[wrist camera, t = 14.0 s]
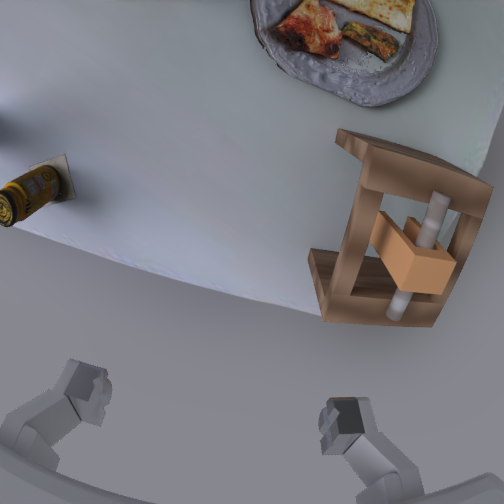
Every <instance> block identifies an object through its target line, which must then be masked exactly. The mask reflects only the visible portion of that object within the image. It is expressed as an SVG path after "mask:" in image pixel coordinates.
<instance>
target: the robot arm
mask: <svg viewBox="0 0 504 504" xmlns="http://www.w3.org/2000/svg"><path fill="white" fill-rule="evenodd" d="M107 376H108V372H107V369H105V368H101V367H98V366H94V365H91V364H87V363H83V362H81V361H77V360H74V359H69V360H68V361H67V362H66V364H65V366H64V368H63V370H62V372H61V374H60V375H59V377H58V379H57V381H56V383H55V385H54V387H53V389H52V390H50V389H48V390H47V391H45V392H43V393H42V394H40V395H38V396H37V397H35V398H33V399H32V400H30V401H28V402H27V403H25V404H23V405H22V406H20V407H18V408H17V409H15V410H13V411H12V412H10V413H8V414H7V415H6V418H5V419H4V421H3V424H2V425H1V428H0V504H155V503H150V502H146V501H142V500H138V499H134V498H130V497H126V496H123V495H119V494H116V493H112V492H109V491H106V490H103V489H100V488H97V487H94V486H91V485H88V484H86V483H83V482H80V481H78V480H75V479H72V478H69V477H67V476H65V475H62V474H60V473H58V472H56V469H57V466H58V463H59V460H60V458H59V456H58V455H57V454H56V453H55V452H54V450H53V449H52V448H51V447H52V446H53V445H54V444H55V443H57V442H58V441H59V440H60V439H62V438H63V437H64V436H65V435H66V434H68V433H69V432H70V431H71V430H72V429H74V428H75V427H76V426H77V425H78V424H80V423H81V421H84V422H86V423H90V424H93V425H97V426H101V424H102V422H103V419H104V416H105V410H104V407H105V406H106V405H108V404H109V402H110V399H111V395H112V384H111V381H110V380H108V378H107ZM326 405H327V407H325V408H323V409H322V411H321V413H320V416H319V431H320V432H321V433H322V434H323V435H324V436H323V437H322V439H321V440H320V442H321V450H322V455H341V454H343V457H344V458H345V459H346V461H347V462H348V463H349V464H350V466H351V467H352V468H353V470H354V471H355V472H356V474H357V475H358V476H359V478H360V479H361V480H362V481H363V483H364V484H365V485H366V486H367V488H366V489H365V490H364V491H362V492H360V493H359V494H358V495H357V496H356V502H357V504H504V481H502V480H501V479H500V478H499V477H497V476H496V475H494V474H493V473H490V472H489V473H488V472H487V473H484V474H482V475H479V476H477V477H474V478H472V479H469V480H467V481H464V482H462V483H459V484H456V485H454V486H451V487H448V488H445V489H442V490H439V491H435V492H432V493H429V494H426V495H425V494H424V489H423V485H422V481H421V477H420V473H419V469H418V467H417V466H416V465H415V464H414V463H413V462H412V461H411V460H410V459H409V458H408V457H407V456H406V455H405V454H403V452H401V451H400V450H399V449H398V448H397V447H396V446H395V445H394V444H393V443H392V442H391V441H390V440H389V439H388V438H387V437H386V436H385V435H384V434H383V433H382V432H378V429H377V426H376V422H375V418H374V414H373V411H372V407H371V404H370V400H369V398H368V397H343V398H342V397H337V398H329V399H328V400H327V402H326Z"/></svg>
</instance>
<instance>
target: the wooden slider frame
mask: <svg viewBox="0 0 504 504" xmlns="http://www.w3.org/2000/svg"><path fill="white" fill-rule="evenodd" d="M335 143H336V144H338V145H339V146H341V147H342V148H344V149H345V150H346V151H348V152H349V153H351V154H352V155H353V156H355V157H356V158H358V159H359V160H360V161H362V162H363V168H362V172H361V176H360V180H359V184H358V188H357V192H356V195H355V199H354V203H353V207H352V210H351V214H350V218H349V221H348V225H347V228H346V232H345V235H344V239H343V242H342V245H341V249H340V252H334V251H327V250H319V249H312V248H311V249H310V253H309V256H308V263H309V267H310V271H311V275H312V278H313V282H314V286H315V290H316V294H317V298H318V303H319V307H320V311H321V315H322V319H323V322H335V323H349V324H364V325H382V326H403V327H432V326H433V324H434V323H435V321H436V319H437V317H438V316H439V314H440V312H441V310H442V308H443V306H444V305H445V302H446V301H447V299H448V297H449V295H450V293H451V291H452V289H453V287H454V285H455V283H456V281H457V279H458V277H459V275H460V272H461V270H462V268H463V266H464V264H465V261H466V259H467V257H468V255H469V252H470V250H471V248H472V245H473V243H474V241H475V238H476V236H477V233H478V230H479V228H480V225H481V223H482V220H483V217H484V214H485V211H486V209H487V206H488V203H489V200H490V197H491V194H492V191H493V188H494V187H493V186H491V185H489V184H488V183H486V182H484V181H482V180H480V179H479V178H477V177H475V176H473V175H472V174H470V173H468V172H466V171H464V170H462V169H460V168H458V167H456V166H454V165H452V164H450V163H448V162H446V161H444V160H442V159H440V158H438V157H436V156H433V155H430V154H427V153H424V152H421V151H418V150H415V149H412V148H409V147H406V146H402V145H399V144H396V143H392V142H389V141H385V140H382V139H378V138H375V137H371V136H367V135H363V134H359V133H355V132H351V131H347V130H343V129H338V131H337V136H336V141H335ZM384 193H388V194H392V195H397V196H401V197H405V198H409V199H413V200H417V201H421V202H425V203H429V206H428V209H427V212H426V215H425V218H424V221H423V223H422V226H421V229H420V232H419V235H418V237H417V240H416V243H415V245H414V246H416V247H422V248H427V249H433V247H434V244H435V242H436V239H437V236H438V234H439V231H440V228H441V226H442V223H443V220H444V217H445V214H446V212H447V209H451V210H454V211H458V212H461V215H460V218H459V221H458V224H457V226H456V229H455V232H454V234H453V237H452V239H451V242H450V245H449V247H448V249H447V252H448V253H449V254H450V255H451V256H452V257H453V259H454V260H455V261H456V262H457V263H456V265H455V267H454V270H453V272H452V274H451V276H450V278H449V280H448V282H447V284H446V286H445V289H444V291H443V293H442V295H438V294H425V293H418V292H408V291H400V290H399V288H398V286H397V284H396V283H395V281H394V279H393V278H392V276H391V274H390V273H389V271H388V269H387V268H386V266H385V264H384V263H383V261H382V260H381V258H376V257H369V256H364V255H365V252H366V249H367V246H368V243H369V240H370V237H371V234H372V231H373V228H374V224H375V221H376V218H377V215H378V211H379V208H380V205H381V201H382V198H383V194H384Z"/></svg>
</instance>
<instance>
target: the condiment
mask: <svg viewBox="0 0 504 504" xmlns="http://www.w3.org/2000/svg"><path fill="white" fill-rule="evenodd" d="M57 169H58V170H57ZM59 170H60V171H59ZM29 171H30V172H28V173H25V174H23V175H22V176H20V177H18V178H16V179H14V180H12V181H11V182H9V183H7V184H6V185H5V186H4V188H2V189H1V190H0V224H1V225H2V226H4V227H10V226H12V225H14V224H15V223H16V222H18V221H22V220H25V219H26V218H27V217H29V216H30V215H31V214H33V213H34V212H36V211H37V210H38V209H40V208H41V207H43V206H47V205H50V204H54V203H58V202H62V201H67V200H71V199H75V198H76V197H75V194H74V189H73V185H72V181H71V177H70V172H69V170H68V167H67V162H66V159H65V155H61V156H58V157H55V158H53V159H50V160H47V161H44V162H41V163H39V164H36V165H33V166H31V167H29ZM60 193H61V194H60Z"/></svg>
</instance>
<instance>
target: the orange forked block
mask: <svg viewBox="0 0 504 504" xmlns="http://www.w3.org/2000/svg"><path fill="white" fill-rule="evenodd" d="M421 226H422V225H421V224H420V223H419V222H418V221H417V220H416V219H415V218H412V217H408V218H407V221H406V224H405V227H404V230H403V232H402V230H401V229H400V228H399V227H398V226H397V225H396V224H395V222H394V221H393V220H392V219H391V218H390V217H389V216H388V215H387V214H386V212H385V211H380V210H379V211H378V215H377V218H376V221H375V224H374V228H373V231H372V234H371V237H370V240H369V241H370V242H371V244H372V245H373V247H374V248H375V250H376V252H377V253H378V255H379V256H380V258H381V260H382V261H383V263H384V264H385V266H386V268H387V269H388V271H389V273H390V274H391V276H392V278H393V279H394V281H395V283H396V284H397V286H398V288H399V290H400V291H408V292H418V293H428V294H438V295H442V293H443V291H444V289H445V286H446V284H447V282H448V280H449V278H450V276H451V274H452V272H453V270H454V267H455V265H456V263H457V262H456V261H455V260H454V259H453V257H452V256H451V255H450V254H449V253H448V252H447V251H446V250H445V249H444V248H443V247H442V246H441V245H440V244H439V242H438V241H437V240H436V242H435V244H434V247H433V249H427V248H422V247H416V246H414V245H415V243H416V240H417V237H418V235H419V232H420V229H421Z"/></svg>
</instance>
